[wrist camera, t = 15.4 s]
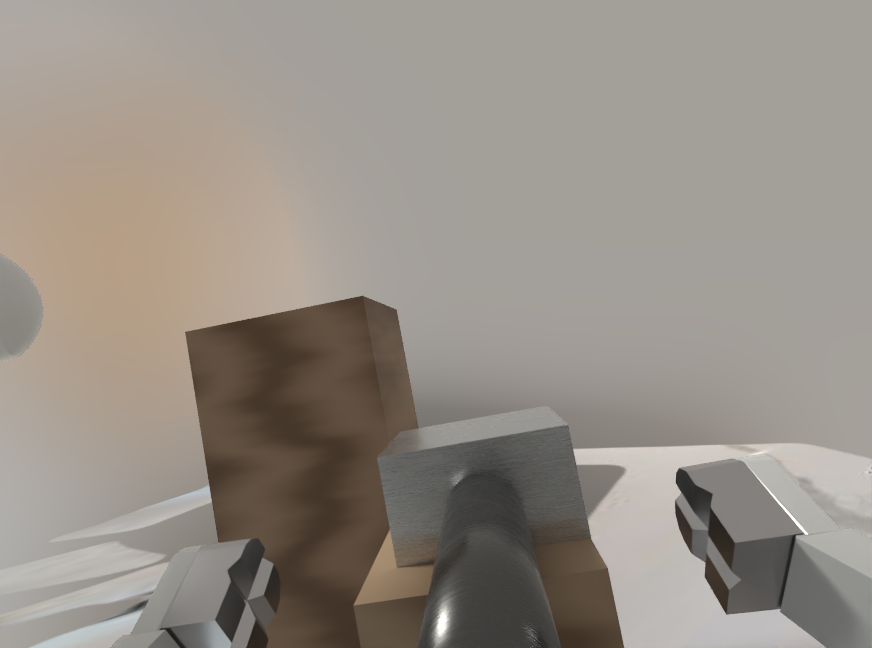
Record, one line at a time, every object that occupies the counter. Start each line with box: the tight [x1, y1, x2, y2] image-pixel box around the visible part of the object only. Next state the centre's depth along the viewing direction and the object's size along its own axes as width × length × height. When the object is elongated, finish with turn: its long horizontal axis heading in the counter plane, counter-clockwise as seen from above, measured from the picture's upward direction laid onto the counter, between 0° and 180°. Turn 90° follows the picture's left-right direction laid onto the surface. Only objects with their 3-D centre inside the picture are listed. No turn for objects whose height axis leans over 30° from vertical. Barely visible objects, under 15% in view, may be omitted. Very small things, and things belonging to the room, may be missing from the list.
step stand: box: [185, 296, 624, 648], centre depth 24 cm, size 18×19×26 cm
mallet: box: [377, 406, 591, 648], centre depth 13 cm, size 7×16×4 cm, turn 175°
